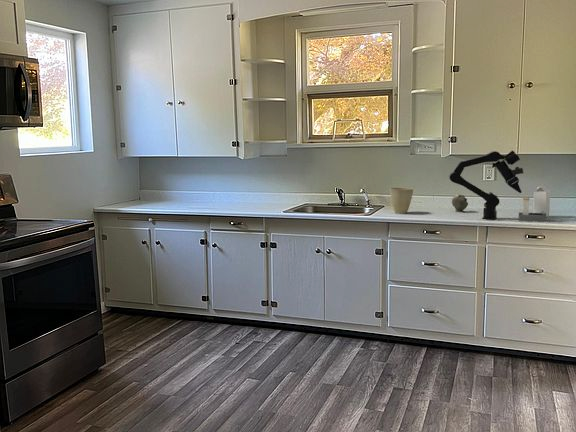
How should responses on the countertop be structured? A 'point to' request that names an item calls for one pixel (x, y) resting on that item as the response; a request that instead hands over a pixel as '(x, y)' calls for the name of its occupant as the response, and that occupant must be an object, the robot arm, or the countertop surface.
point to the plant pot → (401, 199)
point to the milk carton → (541, 200)
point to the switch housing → (533, 217)
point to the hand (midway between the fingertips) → (520, 192)
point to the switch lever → (525, 206)
